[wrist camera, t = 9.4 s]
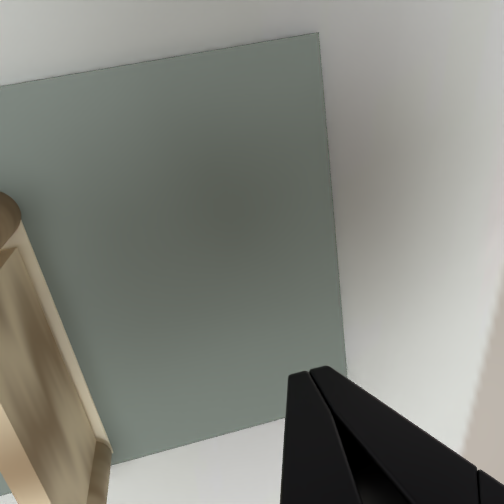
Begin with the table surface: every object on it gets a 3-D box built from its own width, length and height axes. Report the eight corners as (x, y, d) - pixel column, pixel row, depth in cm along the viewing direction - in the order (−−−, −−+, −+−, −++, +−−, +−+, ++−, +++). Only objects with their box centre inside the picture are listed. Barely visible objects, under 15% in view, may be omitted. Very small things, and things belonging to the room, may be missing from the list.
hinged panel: (-23, 255, 18) (-104, 343, 12) (29, 244, 18) (-28, 326, 12) (77, 474, 23) (52, 607, 17) (116, 464, 23) (103, 591, 18)
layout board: (-467, 165, 15) (-486, 169, 14) (315, 33, 18) (319, 32, 17) (-157, 532, 22) (-164, 542, 22) (346, 395, 26) (349, 401, 25)
